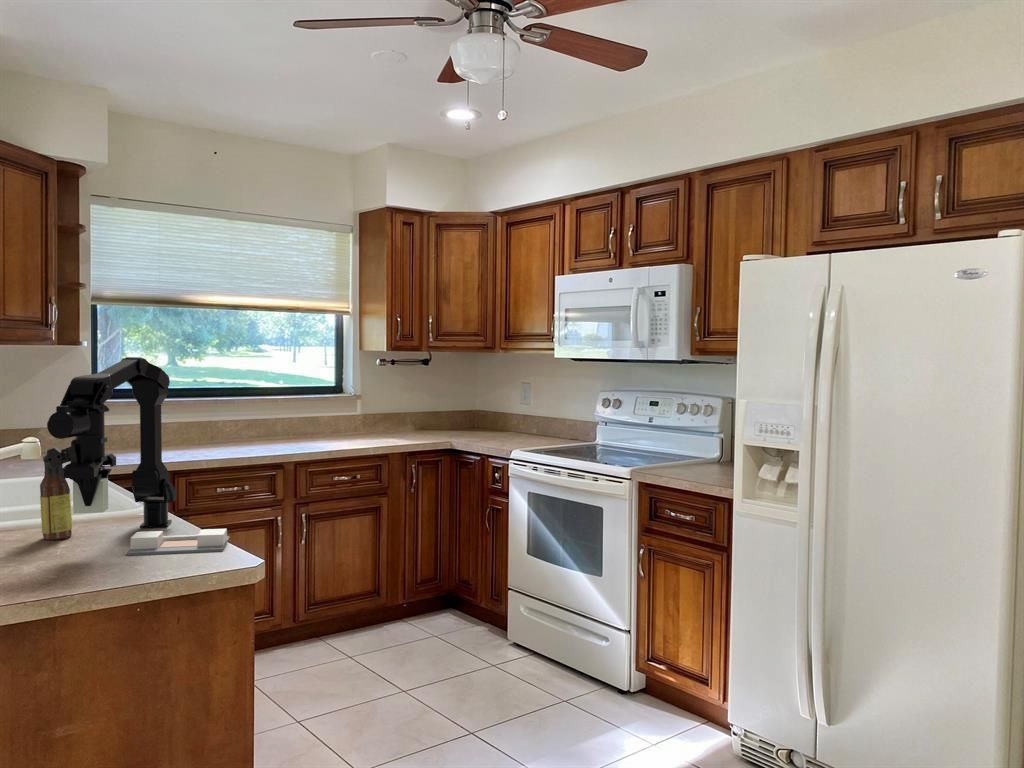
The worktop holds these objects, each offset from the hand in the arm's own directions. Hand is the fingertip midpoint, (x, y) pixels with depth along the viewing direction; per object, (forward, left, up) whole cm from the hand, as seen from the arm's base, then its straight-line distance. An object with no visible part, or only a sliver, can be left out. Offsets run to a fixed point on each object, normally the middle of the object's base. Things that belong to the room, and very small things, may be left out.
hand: (91, 504), depth 175 cm
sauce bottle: (-16, -12, -11) cm, 23 cm away
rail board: (-2, +18, -11) cm, 21 cm away
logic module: (0, 0, -2) cm, 2 cm away
